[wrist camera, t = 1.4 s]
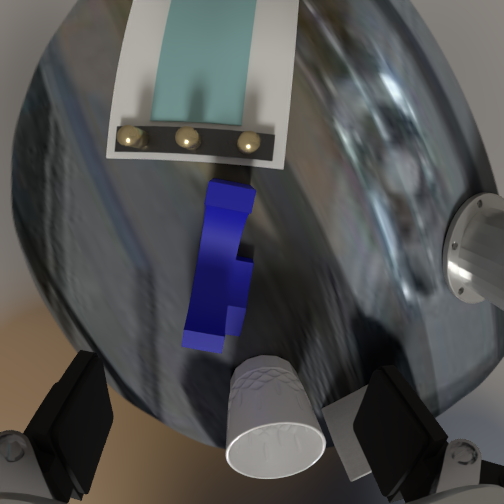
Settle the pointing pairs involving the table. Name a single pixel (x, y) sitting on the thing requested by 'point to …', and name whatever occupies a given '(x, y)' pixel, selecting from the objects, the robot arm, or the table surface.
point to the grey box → (347, 433)
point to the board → (207, 71)
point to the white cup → (270, 421)
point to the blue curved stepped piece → (220, 269)
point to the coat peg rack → (195, 141)
